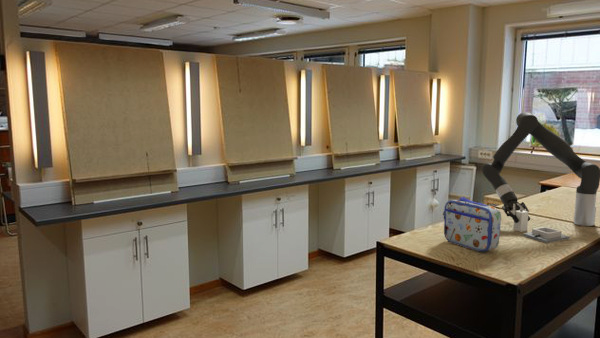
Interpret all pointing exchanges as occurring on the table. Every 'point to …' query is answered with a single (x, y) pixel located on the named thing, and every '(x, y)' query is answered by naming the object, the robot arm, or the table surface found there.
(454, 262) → the table surface
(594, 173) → the robot arm
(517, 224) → the block
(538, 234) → the charging dock
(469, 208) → the lunch box
